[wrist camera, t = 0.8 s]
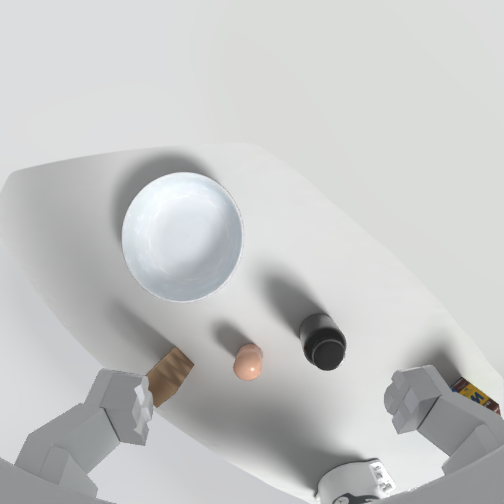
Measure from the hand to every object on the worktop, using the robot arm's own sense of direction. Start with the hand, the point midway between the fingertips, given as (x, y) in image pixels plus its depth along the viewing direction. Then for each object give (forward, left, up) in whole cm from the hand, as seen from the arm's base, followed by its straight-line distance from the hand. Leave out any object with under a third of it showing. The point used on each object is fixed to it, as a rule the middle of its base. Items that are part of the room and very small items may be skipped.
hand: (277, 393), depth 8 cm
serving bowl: (+15, +7, -43) cm, 46 cm away
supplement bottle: (-13, +2, -43) cm, 45 cm away
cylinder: (-8, +14, -43) cm, 46 cm away
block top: (0, +26, -35) cm, 43 cm away
